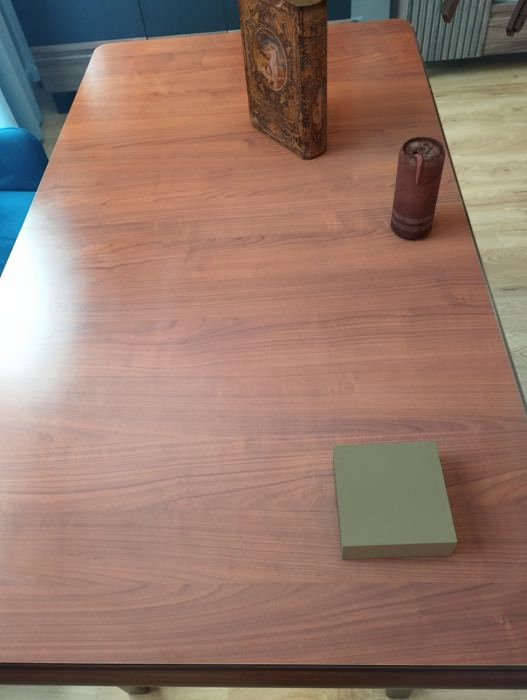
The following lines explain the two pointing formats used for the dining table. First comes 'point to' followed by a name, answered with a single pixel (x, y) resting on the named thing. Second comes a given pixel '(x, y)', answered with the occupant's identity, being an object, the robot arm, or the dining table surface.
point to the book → (287, 71)
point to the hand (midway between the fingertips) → (476, 27)
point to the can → (417, 187)
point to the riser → (392, 501)
